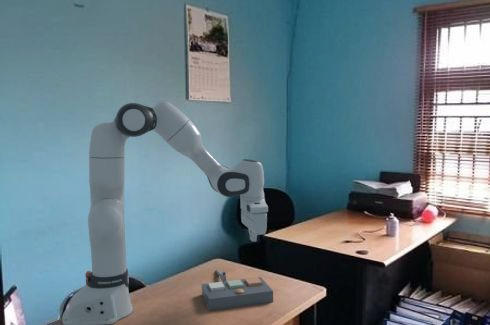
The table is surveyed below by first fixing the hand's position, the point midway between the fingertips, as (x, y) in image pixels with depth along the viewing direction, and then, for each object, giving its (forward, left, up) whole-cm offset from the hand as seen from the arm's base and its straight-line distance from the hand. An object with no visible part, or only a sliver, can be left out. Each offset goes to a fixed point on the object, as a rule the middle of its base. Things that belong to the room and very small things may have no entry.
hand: (253, 240), depth 155 cm
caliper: (-9, +18, -21) cm, 29 cm away
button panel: (-7, -2, -20) cm, 21 cm away
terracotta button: (0, 0, -18) cm, 18 cm away
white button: (-14, 0, -18) cm, 23 cm away
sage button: (-7, 0, -18) cm, 20 cm away
